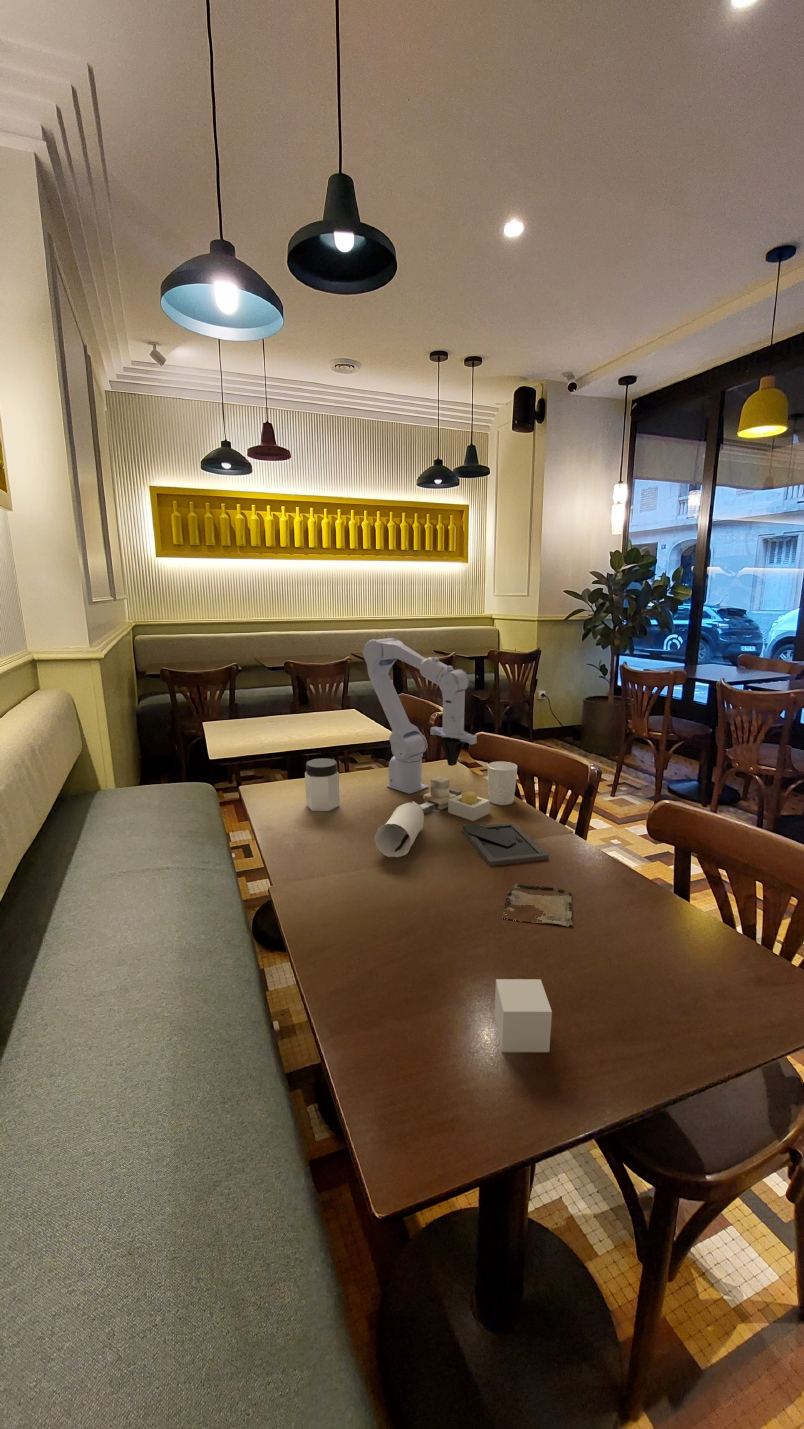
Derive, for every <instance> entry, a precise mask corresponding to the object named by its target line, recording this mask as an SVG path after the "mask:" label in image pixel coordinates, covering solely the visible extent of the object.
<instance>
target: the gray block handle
mask: <svg viewBox="0 0 804 1429" xmlns="http://www.w3.org/2000/svg"><path fill="white" fill-rule="evenodd" d="M449 793H451V794H454V795H456V796H459V795H461V794H462V793H463V791H461V790H458V789H456V788H452V787H451V788H450V787H449ZM419 805H420V806H421V807H422V808H423V809H422V811H423V814H424V815H425V814H428V813H430V812H432V811H435V810H437V809H438V803H435V802H432V801H429V802H426V803H424V802H423V803H421V804H419Z"/></svg>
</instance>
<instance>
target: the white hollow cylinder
mask: <svg viewBox="0 0 804 1429" xmlns="http://www.w3.org/2000/svg"><path fill="white" fill-rule="evenodd" d="M420 805H421V804H419V803H417V802H415V801H413V800H412V801H411V802H406V803H403V804H401V805H398V806H397V807H396V808H395V809H394V810H393V813H392V814H391V815H390V817H389V819H388V820H387V822H386V823H384V824H383V825H381V826H379V827H378V828H377V831H376V832H375V833H374V835H375V836H374V838H373V840H374V841H375V842H374V843H375V846H376V847H377V849H378V851H379V852H380V853H381V854H382V855H384V856H386V857H387V858H392V857H396V858H399V857H402V856H406V855H407V854H408V853H409V851H410V850H411V847H412V846H413V844H414V843H415V840H416V838H417V837H418V835H419V833H420V832H421V831H422V829H423V828H424V823H425V814H423V811H422V809H423V808H422V807H421V806H420ZM405 836H407V838H406V840H405V841H404V843H403V845H402V846H401V848H400V849H397V848H398V847H399V846H400V845H401V844H402V841H403V839H404V838H405ZM396 849H397V851H396Z"/></svg>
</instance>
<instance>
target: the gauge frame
mask: <svg viewBox="0 0 804 1429" xmlns="http://www.w3.org/2000/svg"><path fill="white" fill-rule="evenodd" d="M447 808H448V809H447V813H448V814H451V815H454V816H457V817H460V818H463V819H466V820H468V821H472V822H475V821H477V820H478V819H482V817H485V816H487V815H489V814H491V812H490V809H491V802H490V800H489V799H487V798H483V797H479V796H477V803H475V804H473V805H469V804H466V803H463V802H461V795H459V796H456V797H454V798H451V799H449V800H448V807H447Z"/></svg>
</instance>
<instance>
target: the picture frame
mask: <svg viewBox="0 0 804 1429" xmlns="http://www.w3.org/2000/svg"><path fill="white" fill-rule="evenodd" d="M461 830H462V834H464V835H465V837H466V838H467V839H468V841H469V842H470V843H471V844H472V845H473V847H474V848H475V849H476V851H477V852H478V853H479V855H480V856H481V857H482V858H483V860H484V861H485V862H486V863H487V864H488V866H489V867H491V866H492V867H493V866H495V867H496V866H503V865H512V864H521V863H529V862H530V861H531V862H538V861H539V860H540V861H548V860H549V857H550V856H549V854H548V853H547V852H546V851H545V850H544V849H543V848H542V847H541V846H540V845H539V844H537V843H536V841H534V840H533V838H532V837H530V836H529V835H528V834H527V833H526V832H525V831H524V830H523V829H522V828H521V827H520V826H519V825H518V824H517V823H516V822H514V821H513V822H503V823H493V824H481V825H480V824H467V825H462V827H461ZM531 862H530V863H531Z"/></svg>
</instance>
